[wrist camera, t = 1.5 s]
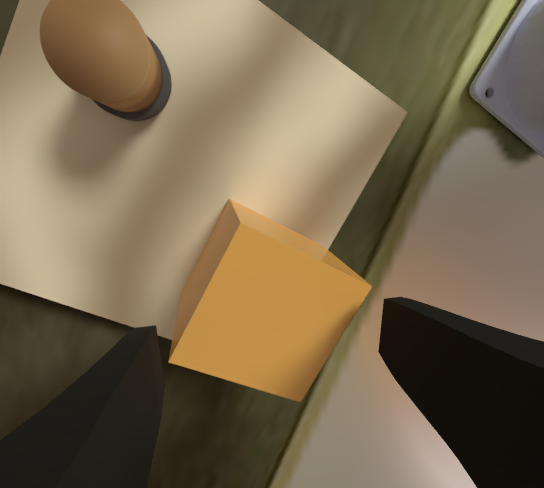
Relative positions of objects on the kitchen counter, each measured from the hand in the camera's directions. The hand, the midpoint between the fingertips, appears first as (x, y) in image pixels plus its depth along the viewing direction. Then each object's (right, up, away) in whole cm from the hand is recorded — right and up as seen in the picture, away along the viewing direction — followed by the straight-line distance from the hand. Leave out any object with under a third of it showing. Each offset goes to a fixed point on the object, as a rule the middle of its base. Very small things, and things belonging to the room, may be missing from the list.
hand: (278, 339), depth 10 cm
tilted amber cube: (-1, +2, +6) cm, 6 cm away
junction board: (-4, +6, +5) cm, 9 cm away
